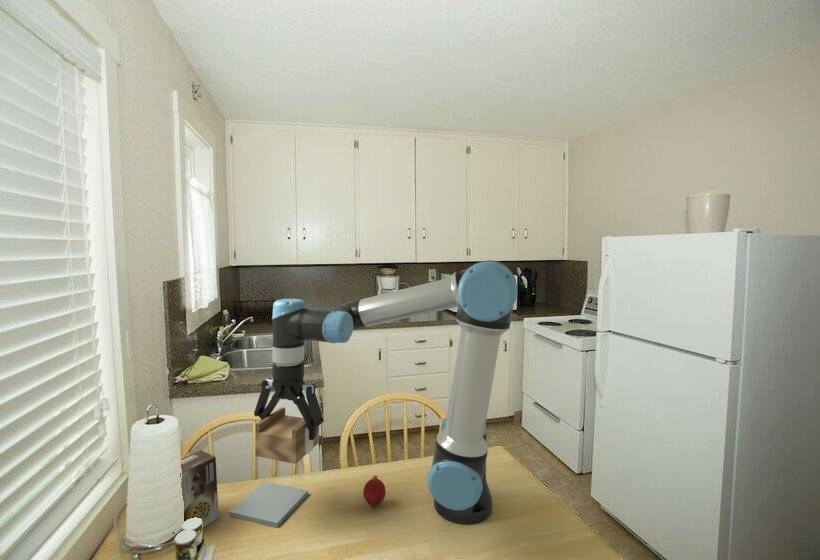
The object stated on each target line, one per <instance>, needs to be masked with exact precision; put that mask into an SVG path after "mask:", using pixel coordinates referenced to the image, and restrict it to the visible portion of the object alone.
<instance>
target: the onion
mask: <svg viewBox="0 0 820 560" xmlns="http://www.w3.org/2000/svg"><path fill="white" fill-rule="evenodd" d="M385 486H386V485H385V483H384V482H383V481H382V480H380V479H379V478H378V476H377V475H376V474H375V475H373V476H372V477H371V479H370V480H369V479H368V481H367V482H365V485H364V486H363V492H362V493H363V499H364V501H365V502H366V503H367V504H368V505H370V506H374V507H376V506H378V505H379V504H381V503H382V502H383V501H384V499H385V497H386V493H387V491H386V487H385Z"/></svg>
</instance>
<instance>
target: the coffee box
mask: <svg viewBox="0 0 820 560" xmlns="http://www.w3.org/2000/svg"><path fill="white" fill-rule="evenodd" d="M180 459H181V469H182V479H181V480H182V481H181V488H182V496H183V501H184V521H186V520H187V519H190V518H194V517H197V518H201V519H202V521H203V528H205V527H206V526H207V525H209V524H211V523H213V522H214V521H216V520H217V519H219V500H218V499H219V498H218V497H219V496H218V479H217V461H216V460H217V459H216V456H214V455H212V454H210V453H209V452H207V451H204V450H201V449H200V450H198V451H196V452H193V453H192V454H189V455H187V456H185V457H183V458H180ZM180 477H181V473H180Z"/></svg>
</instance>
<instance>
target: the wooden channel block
mask: <svg viewBox="0 0 820 560" xmlns="http://www.w3.org/2000/svg"><path fill="white" fill-rule="evenodd" d="M306 427H307V424H306V422H305V420H304V418H303V417H298V416H292V415H287V414H286V408H285V407H280V408H278V409H277V410H276V411H274V412H272V413H271V415H269V416H267V417H266V418H264V419H263V420H261V419H260V421H258V422H257V423H255V457H258V458H263V459H269V460H274V461H279V462H284V463H290V464H294V465H296V464H297V463H298V462H300V461H301V460H302V459H303V458H305V456H306V455H307V454H305V428H306ZM319 441H320V425H319V426H318V427H316V437H315V439H313V449H314V448H315V447H316V446H317V445H318V444H319Z"/></svg>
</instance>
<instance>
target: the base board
mask: <svg viewBox="0 0 820 560" xmlns="http://www.w3.org/2000/svg"><path fill="white" fill-rule="evenodd" d="M308 496H309V490H308V489H305V488H304V489H303V488H300V487H299V488H298V487H294V486H289V485H285V484H279V483H274V482H270V481H263V482H262V483H261V484H259V486H257V487H256V488H255V489H253V490H252V491H251V492H250V493H249V494H248V495H247V496H246V497H244V498H243V499H242V500H241V501H240V502H239V503H237V504H236V505H235V506H234V507H233V508H232V509H230V511H228V517H231V518H234V519H239V520H244V521H247V522H252V523H256V524H259V525H264V526H268V527H273V528H276V529H277V528H279V527H280V526H281V524H283V522H284V521H286V519H287V518H288V517H289V516H290V515H291V514H292V513H293V512H294V511H295V510H296V509H297V507H298V506H299V505H300V504H301V503H302V502H303V501H304V500H305V499H306V498H307V497H308Z"/></svg>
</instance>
